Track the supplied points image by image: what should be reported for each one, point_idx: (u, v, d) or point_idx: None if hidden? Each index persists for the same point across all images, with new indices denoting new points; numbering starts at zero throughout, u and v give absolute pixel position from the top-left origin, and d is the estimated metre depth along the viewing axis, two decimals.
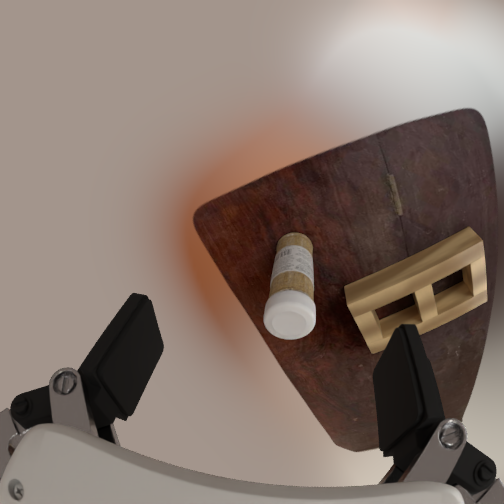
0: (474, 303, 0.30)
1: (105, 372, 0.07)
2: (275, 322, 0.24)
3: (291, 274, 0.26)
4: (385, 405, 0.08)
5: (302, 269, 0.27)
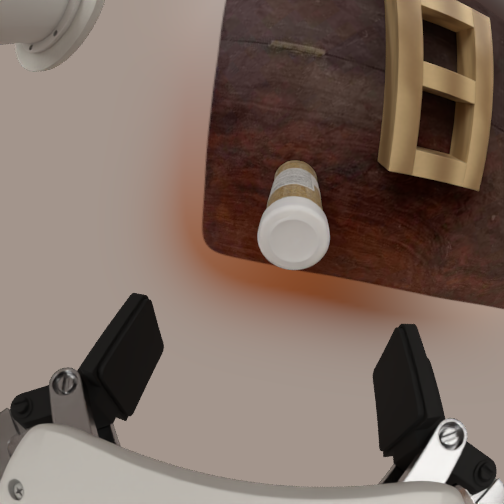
0: (484, 32, 0.12)
1: (105, 372, 0.07)
2: (281, 254, 0.18)
3: (270, 198, 0.20)
4: (385, 405, 0.08)
5: (280, 185, 0.21)
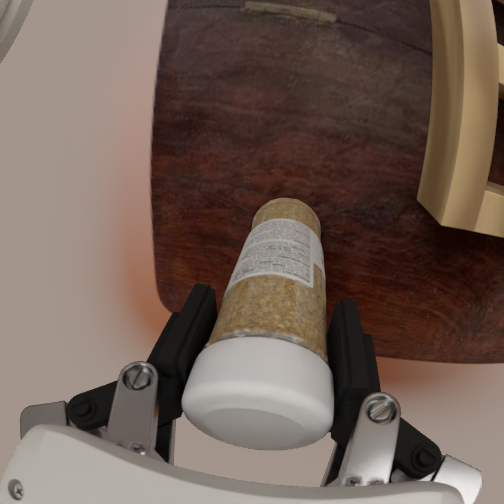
0: None
1: (184, 362, 0.08)
2: (233, 437, 0.07)
3: (224, 301, 0.10)
4: None
5: (245, 271, 0.11)
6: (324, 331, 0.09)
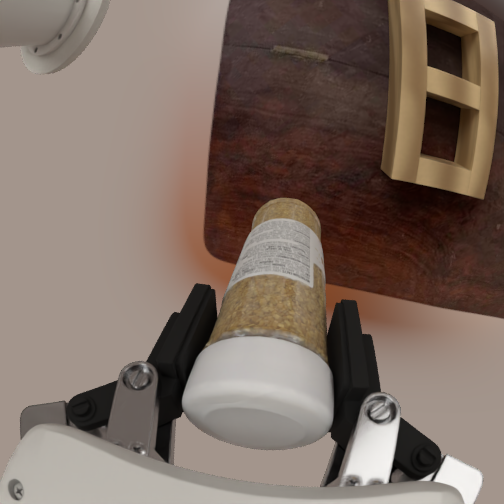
0: (489, 36, 0.12)
1: (184, 362, 0.08)
2: (233, 437, 0.07)
3: (224, 301, 0.10)
4: None
5: (245, 271, 0.11)
6: (324, 331, 0.09)
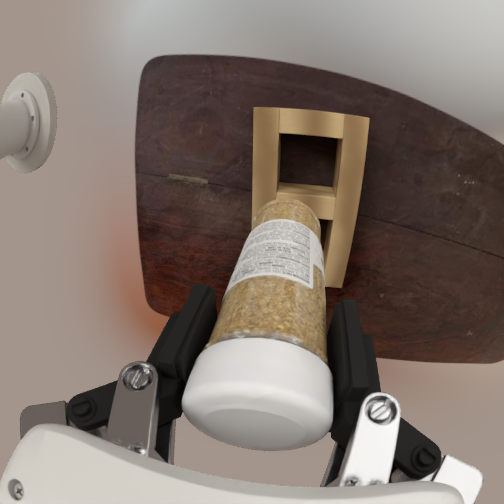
0: (357, 140, 0.24)
1: (184, 362, 0.08)
2: (233, 438, 0.07)
3: (224, 302, 0.10)
4: None
5: (245, 272, 0.11)
6: (324, 332, 0.09)
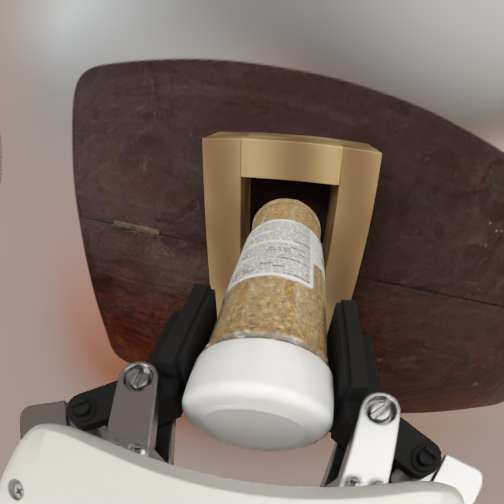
0: (361, 187, 0.16)
1: (184, 362, 0.08)
2: (233, 438, 0.07)
3: (224, 302, 0.10)
4: None
5: (245, 272, 0.11)
6: (324, 332, 0.09)
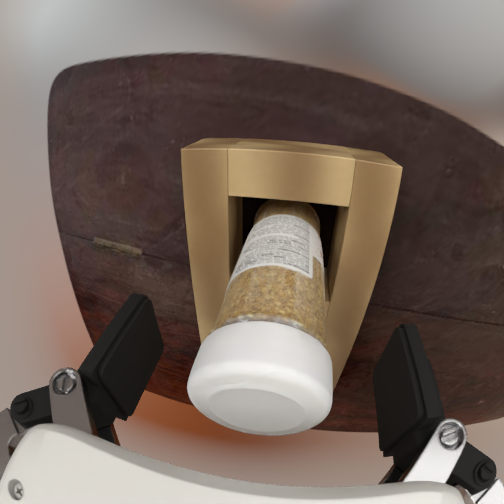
0: (376, 209, 0.13)
1: (105, 372, 0.07)
2: (236, 421, 0.08)
3: (227, 291, 0.11)
4: (385, 405, 0.08)
5: (248, 262, 0.11)
6: (323, 319, 0.10)
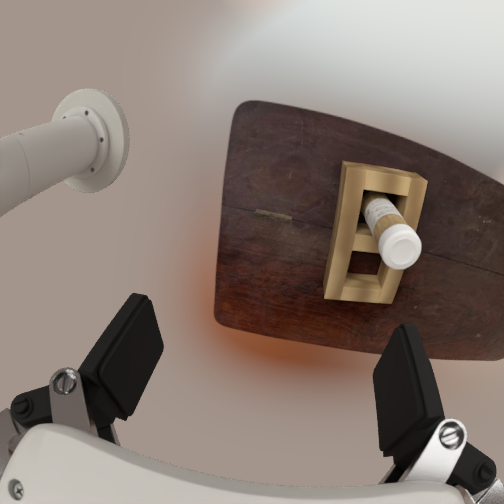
0: (417, 197, 0.31)
1: (105, 372, 0.07)
2: (394, 259, 0.26)
3: (378, 222, 0.29)
4: (385, 405, 0.08)
5: (382, 213, 0.29)
6: None
